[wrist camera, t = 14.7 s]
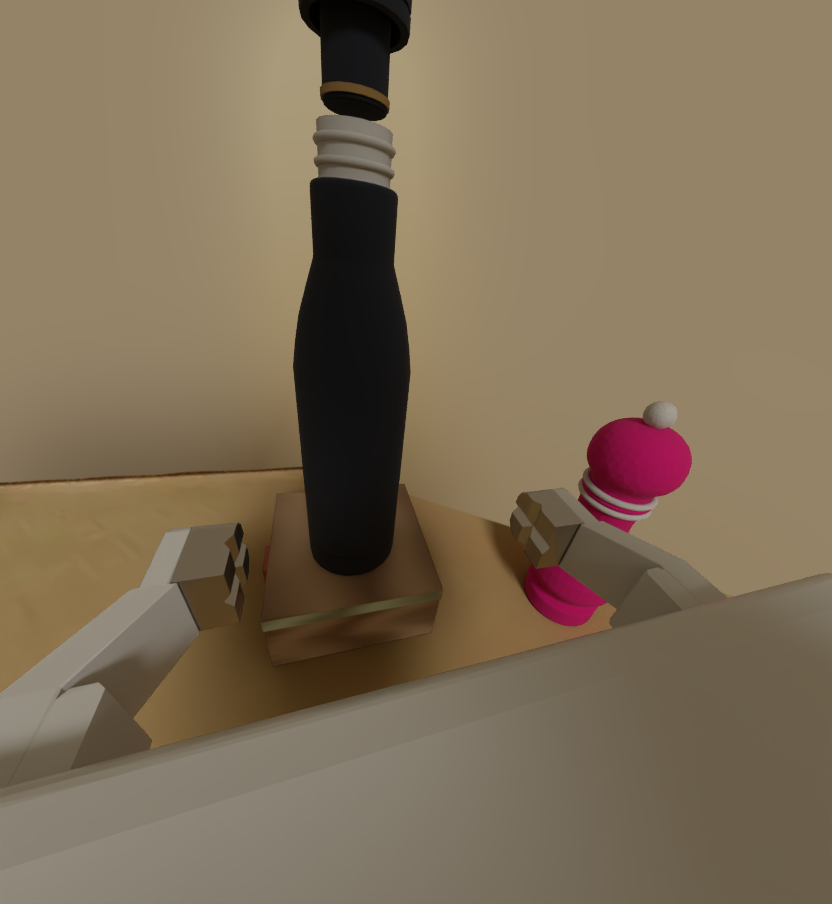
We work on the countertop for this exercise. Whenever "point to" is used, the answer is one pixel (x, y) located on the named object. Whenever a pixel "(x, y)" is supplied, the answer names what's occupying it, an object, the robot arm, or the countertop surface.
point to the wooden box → (343, 589)
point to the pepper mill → (615, 498)
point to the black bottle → (353, 295)
